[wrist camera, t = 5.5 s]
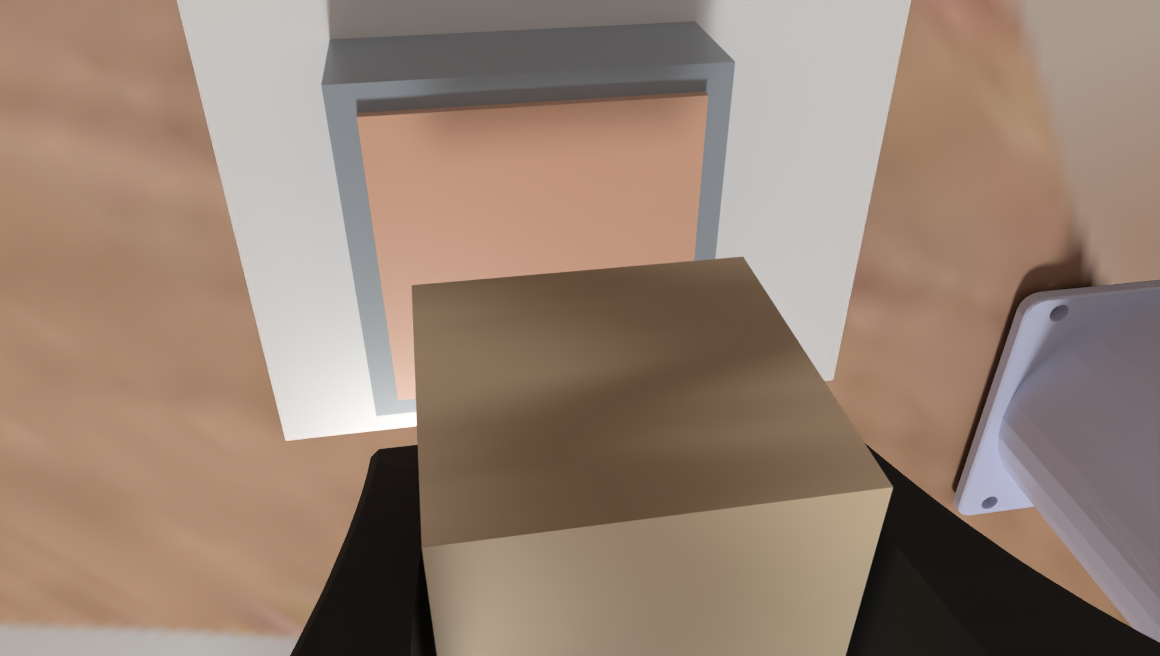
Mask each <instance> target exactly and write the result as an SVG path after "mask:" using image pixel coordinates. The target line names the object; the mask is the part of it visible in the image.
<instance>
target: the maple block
mask: <svg viewBox="0 0 1160 656" xmlns="http://www.w3.org/2000/svg"><path fill="white" fill-rule="evenodd" d="M412 310H413V336H414V361H415V387H416V413H417V439H418V464H419V490H420V516H421V542H422V553H423V560H424V568H425V575H426V582H427V589H428V596H429V603H430V610H431V618H432V625H433V632H434V639H435V646H436V653H437V656H846V653H847V649H848V645H849V642H850V638H851V635H852V631H853V628H854V624H855V621H856V617H857V614H858V610H859V606H860V603H861V599H862V596H863V592H864V589H865V585H866V582H867V578H868V575H869V571H870V568H871V564H872V560H873V557H874V553H875V550H876V546H877V543H878V539H879V536H880V532H881V529H882V525H883V521H884V518H885V514H886V511H887V507H888V504H889V500H890V497H891V493H892V490H893V486H892V485H891V483H890V481H889V480H888V478H887V477H886V475H885V474H884V472H883V471H882V469H881V468H880V466H879V465H878V463H877V461H876V460H875V458H874V457H873V455H872V454H871V452H870V451H869V449H868V448H867V446H866V445H865V443H864V441H863V440H862V438H861V437H860V435H859V434H858V432H857V431H856V429H855V428H854V426H853V425H852V423H851V422H850V420H849V418H848V417H847V415H846V414H845V412H844V411H843V409H842V408H841V406H840V405H839V403H838V402H837V400H836V398H835V397H834V395H833V394H832V392H831V391H830V389H829V388H828V386H827V385H826V383H825V382H824V380H823V378H822V377H821V375H820V374H819V372H818V371H817V369H816V368H815V366H814V365H813V363H812V362H811V360H810V359H809V357H808V355H807V354H806V352H805V351H804V349H803V348H802V346H801V345H800V343H799V342H798V340H797V339H796V337H795V335H794V334H793V332H792V331H791V329H790V328H789V326H788V325H787V323H786V322H785V320H784V319H783V317H782V316H781V314H780V312H779V311H778V309H777V308H776V306H775V305H774V303H773V302H772V300H771V299H770V297H769V296H768V294H767V292H766V291H765V289H764V288H763V286H762V285H761V283H760V282H759V280H758V279H757V277H756V276H755V274H754V272H753V271H752V269H751V268H750V266H749V265H748V263H747V262H746V260H745V259H744V257H732V258H721V259H709V260H698V261H686V262H674V263H663V264H651V265H640V266H628V267H617V268H605V269H593V270H582V271H570V272H559V273H547V274H536V275H524V276H512V277H501V278H489V279H478V280H466V281H455V282H443V283H431V284H420V285H412Z"/></svg>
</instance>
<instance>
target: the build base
mask: <svg viewBox="0 0 1160 656" xmlns="http://www.w3.org/2000/svg"><path fill="white" fill-rule="evenodd" d="M177 3H178V7H179V11H180V16H181V20H182V24H183V28H184V32H185V36H186V40H187V44H188V48H189V52H190V56H191V60H192V64H193V68H194V72H195V76H196V80H197V84H198V88H199V92H200V96H201V100H202V105H203V109H204V113H205V117H206V121H207V125H208V129H209V133H210V137H211V141H212V145H213V149H214V153H215V157H216V161H217V165H218V169H219V173H220V177H221V181H222V185H223V189H224V194H225V198H226V202H227V206H228V210H229V214H230V218H231V222H232V226H233V230H234V234H235V238H236V242H237V246H238V250H239V254H240V258H241V262H242V266H243V270H244V274H245V279H246V283H247V287H248V291H249V295H250V299H251V303H252V307H253V311H254V315H255V319H256V323H257V327H258V331H259V335H260V339H261V343H262V347H263V351H264V355H265V359H266V363H267V368H268V372H269V376H270V380H271V384H272V388H273V392H274V396H275V400H276V404H277V408H278V412H279V416H280V420H281V424H282V428H283V432H284V436H285V440H286V441H288V440H297V439H306V438H315V437H324V436H333V435H342V434H351V433H360V432H369V431H378V430H387V429H396V428H405V427H414V426H417V413H416V387H415V361H414V336H413V310H412V285H420V284H431V283H443V282H455V281H466V280H478V279H489V278H501V277H512V276H524V275H536V274H547V273H559V272H570V271H582V270H593V269H605V268H617V267H628V266H640V265H651V264H663V263H674V262H686V261H698V260H709V259H721V258H732V257H744V259H745V260H746V262H747V263H748V265H749V266H750V268H751V269H752V271H753V272H754V274H755V276H756V277H757V279H758V280H759V282H760V283H761V285H762V286H763V288H764V289H765V291H766V292H767V294H768V296H769V297H770V299H771V300H772V302H773V303H774V305H775V306H776V308H777V309H778V311H779V312H780V314H781V316H782V317H783V319H784V320H785V322H786V323H787V325H788V326H789V328H790V329H791V331H792V332H793V334H794V335H795V337H796V339H797V340H798V342H799V343H800V345H801V346H802V348H803V349H804V351H805V352H806V354H807V355H808V357H809V359H810V360H811V362H812V363H813V365H814V366H815V368H816V369H817V371H818V372H819V374H820V375H821V377H822V378H823V380H824V381H828V380H833V378H834V373H835V368H836V363H837V359H838V354H839V349H840V344H841V339H842V334H843V329H844V325H845V320H846V315H847V310H848V305H849V300H850V295H851V291H852V286H853V281H854V276H855V271H856V266H857V261H858V257H859V252H860V247H861V242H862V237H863V232H864V227H865V222H866V218H867V213H868V208H869V203H870V198H871V193H872V188H873V184H874V179H875V174H876V169H877V164H878V159H879V154H880V150H881V145H882V140H883V135H884V130H885V125H886V120H887V115H888V111H889V106H890V101H891V96H892V91H893V86H894V81H895V77H896V72H897V67H898V62H899V57H900V52H901V47H902V43H903V38H904V33H905V28H906V23H907V18H908V13H909V9H910V4H911V0H177Z"/></svg>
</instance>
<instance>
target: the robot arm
mask: <svg viewBox="0 0 1160 656" xmlns="http://www.w3.org/2000/svg"><path fill="white" fill-rule="evenodd" d="M1057 306H1058V307H1057ZM1056 307H1057V309H1055V310H1054V311H1053V312H1052V310H1053V309H1054V308H1056ZM865 445H866V444H865ZM866 446H867V448H868V449H869V451H870V452H871V454H872V455H873V457H874V458H875V460H876V461H877V463H878V465H879V466H880V468H881V469H882V471H883V472H884V474H885V475H886V477H887V478H888V480H889V481H890V483H891V485H892V486H893V490H892V493H891V497H890V500H889V504H888V507H887V511H886V514H885V518H884V521H883V525H882V529H881V532H880V536H879V539H878V543H877V546H876V550H875V553H874V557H873V560H872V564H871V568H870V571H869V575H868V578H867V582H866V585H865V589H864V592H863V596H862V599H861V603H860V606H859V610H858V614H857V617H856V621H855V624H854V628H853V631H852V635H851V638H850V642H849V645H848V649H847V653H846V656H1160V280H1154V281H1144V282H1134V283H1124V284H1114V285H1104V286H1094V287H1084V288H1074V289H1063V290H1053V291H1043V292H1037V293H1034V294H1031V295H1029V296H1028V297H1026V298H1025V299H1024V300H1023V301H1022V302H1021V303H1020V305H1019V307H1018V309H1017V311H1016V314H1015V317H1014V320H1013V323H1012V326H1011V329H1010V332H1009V335H1008V338H1007V341H1006V344H1005V347H1004V350H1003V353H1002V356H1001V359H1000V362H999V365H998V368H997V371H996V374H995V377H994V380H993V383H992V386H991V389H990V392H989V395H988V398H987V401H986V404H985V407H984V409H983V412H982V415H981V418H980V421H979V424H978V427H977V430H976V433H975V436H974V439H973V442H972V445H971V448H970V451H969V454H968V457H967V460H966V463H965V466H964V469H963V472H962V475H961V478H960V481H959V484H958V487H957V490H956V493H955V496H954V501H953V503H954V505H955V506H956V508H957V509H958V511H959V512H960V513H961V514H963V515H975V514H983V513H990V512H997V511H1005V510H1012V509H1019V508H1026V507H1035V508H1036V509H1037V510H1038V512H1039V513H1040V514H1041V515H1042V517H1043V518H1044V519H1045V520H1046V521H1047V523H1048V524H1049V525H1050V526H1051V528H1052V529H1053V530H1054V531H1055V533H1056V534H1057V535H1058V536H1059V537H1060V539H1061V540H1062V541H1063V542H1064V544H1065V545H1066V546H1067V547H1068V549H1069V550H1070V551H1071V552H1072V553H1073V555H1074V556H1075V557H1076V558H1077V560H1078V561H1079V562H1080V563H1081V565H1082V566H1083V567H1084V568H1085V569H1086V571H1087V572H1088V573H1089V574H1090V576H1091V577H1092V578H1093V579H1094V581H1095V582H1096V583H1097V584H1098V585H1099V587H1100V588H1101V589H1102V590H1103V592H1104V593H1105V594H1106V595H1107V597H1108V598H1109V599H1110V600H1111V602H1112V603H1113V604H1114V605H1115V606H1116V608H1117V609H1118V610H1119V611H1120V613H1121V614H1122V615H1123V616H1124V618H1125V619H1126V620H1127V621H1128V622H1129V624H1130V625H1131V626H1132V627H1133V628H1131V627H1130V626H1128V625H1126V624H1124V623H1122V622H1120V621H1119V620H1117V619H1115V618H1113V617H1112V616H1110V615H1108V614H1106V613H1105V612H1103V611H1101V610H1099V609H1097V608H1096V607H1094V606H1092V605H1091V604H1089V603H1087V602H1086V601H1084V600H1082V599H1081V598H1079V597H1077V596H1076V595H1074V594H1073V593H1071V592H1069V591H1068V590H1066V589H1064V588H1063V587H1061V586H1059V585H1058V584H1056V583H1055V582H1053V581H1051V580H1050V579H1048V578H1046V577H1045V576H1043V575H1042V574H1040V573H1038V572H1037V571H1035V570H1034V569H1032V568H1031V567H1029V566H1028V565H1026V564H1025V563H1023V562H1021V561H1020V560H1018V559H1017V558H1015V557H1014V556H1012V555H1011V554H1009V553H1008V552H1007V551H1005V550H1004V549H1002V548H1001V547H999V546H998V545H997V544H995V543H994V542H992V541H991V540H990V539H988V538H987V537H985V536H984V535H982V534H981V533H980V532H978V531H977V530H975V529H974V528H973V527H971V526H970V525H968V524H967V523H965V522H964V521H963V520H961V519H960V518H959V517H957V516H956V515H955V514H953V513H952V512H951V511H949V510H948V509H947V508H945V507H944V506H943V505H941V504H940V503H939V502H937V501H936V500H935V499H934V498H932V497H931V496H930V495H928V494H927V493H926V492H925V491H923V490H922V489H921V488H919V487H918V486H917V485H916V484H914V483H913V482H912V481H911V480H909V479H908V478H907V477H906V476H904V475H903V474H902V473H901V472H899V471H898V470H897V469H896V468H894V467H893V466H892V465H891V464H889V463H888V462H887V461H886V460H885V459H883V458H882V457H881V456H880V455H879V454H877V453H876V452H875V451H874V450H872V449H871V448H870V447H869V446H868V445H866ZM290 656H437V653H436V646H435V639H434V632H433V625H432V618H431V610H430V603H429V596H428V589H427V582H426V575H425V568H424V560H423V553H422V542H421V516H420V490H419V464H418V445H413V446H404V447H395V448H386V449H379V450H378V451H377V452H376V453H375V454H374V455H373V456H372V457H371V459H370V464H369V469H368V473H367V477H366V480H365V484H364V487H363V491H362V494H361V497H360V500H359V503H358V506H357V509H356V511H355V514H354V517H353V520H352V522H351V525H350V528H349V530H348V533H347V536H346V538H345V540H344V543H343V545H342V547H341V550H340V552H339V555H338V557H337V559H336V562H335V564H334V566H333V569H332V571H331V573H330V576H329V578H328V580H327V583H326V585H325V587H324V589H323V591H322V593H321V596H320V598H319V600H318V602H317V604H316V606H315V608H314V610H313V612H312V614H311V616H310V618H309V620H308V622H307V624H306V626H305V628H304V630H303V632H302V634H301V636H300V638H299V640H298V642H297V644H296V646H295V648H294V649H293V651H292V653H291V655H290Z"/></svg>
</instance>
